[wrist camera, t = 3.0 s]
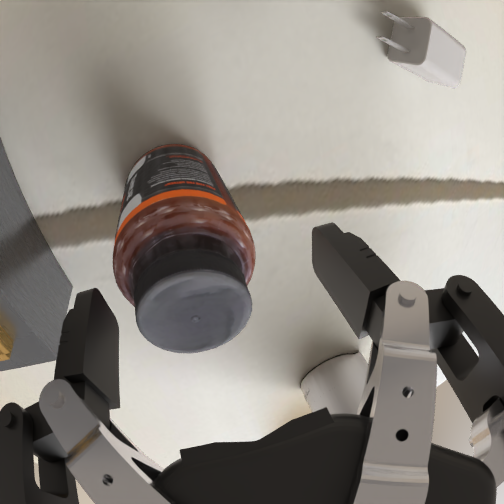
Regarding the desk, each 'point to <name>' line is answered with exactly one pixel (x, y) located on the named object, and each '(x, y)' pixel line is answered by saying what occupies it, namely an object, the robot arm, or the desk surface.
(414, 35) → the usb wall charger
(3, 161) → the grey square box
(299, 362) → the desk surface
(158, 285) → the supplement bottle
